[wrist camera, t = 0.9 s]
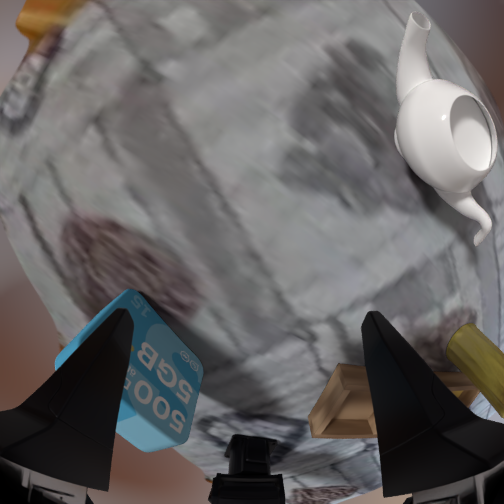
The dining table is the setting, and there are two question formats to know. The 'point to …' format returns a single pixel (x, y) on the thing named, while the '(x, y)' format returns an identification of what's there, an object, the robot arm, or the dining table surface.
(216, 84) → the dining table surface
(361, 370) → the rack
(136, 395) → the data package
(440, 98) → the teapot
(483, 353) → the vase
